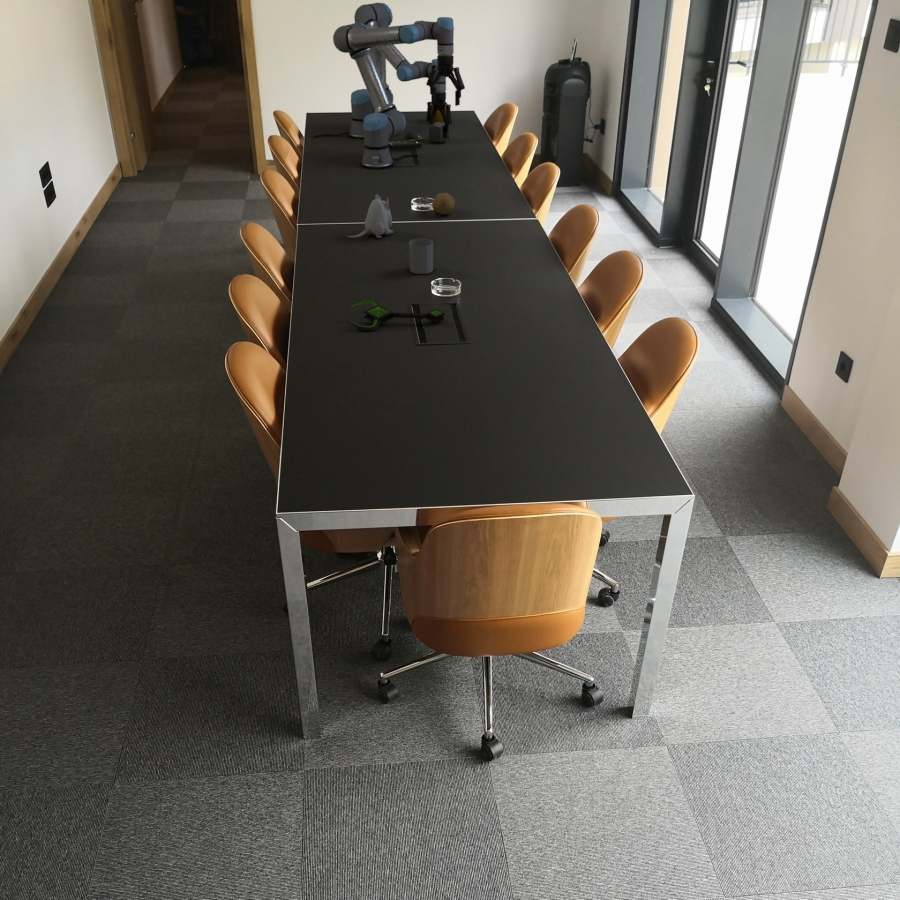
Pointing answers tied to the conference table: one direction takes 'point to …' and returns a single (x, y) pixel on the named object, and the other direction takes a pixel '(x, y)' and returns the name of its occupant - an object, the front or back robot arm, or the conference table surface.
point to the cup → (421, 256)
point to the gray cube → (437, 132)
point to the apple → (438, 116)
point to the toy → (377, 219)
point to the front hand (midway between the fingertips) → (445, 103)
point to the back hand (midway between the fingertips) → (439, 136)
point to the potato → (443, 203)
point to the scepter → (391, 315)
